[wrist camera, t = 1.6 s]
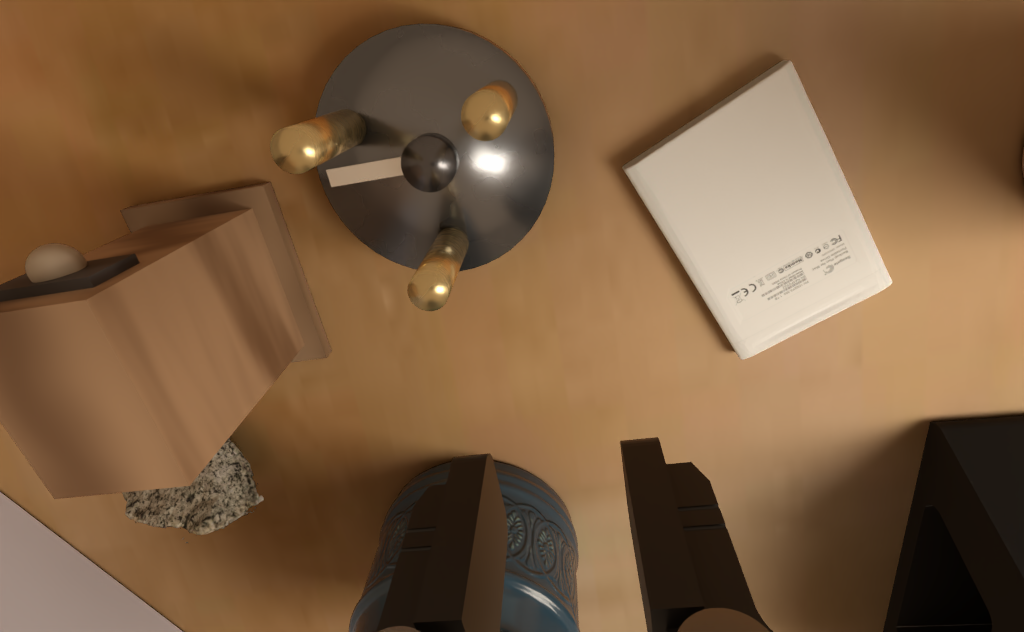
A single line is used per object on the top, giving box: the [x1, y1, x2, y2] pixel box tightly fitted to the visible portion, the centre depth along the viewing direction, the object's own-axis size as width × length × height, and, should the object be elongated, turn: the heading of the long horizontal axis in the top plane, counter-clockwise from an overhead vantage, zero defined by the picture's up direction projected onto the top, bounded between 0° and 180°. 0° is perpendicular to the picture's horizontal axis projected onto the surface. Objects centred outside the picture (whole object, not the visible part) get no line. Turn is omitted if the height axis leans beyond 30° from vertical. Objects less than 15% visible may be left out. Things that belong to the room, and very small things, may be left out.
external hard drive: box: [622, 60, 892, 360], centre depth 27 cm, size 2×8×12 cm
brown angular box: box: [0, 182, 332, 499], centre depth 25 cm, size 8×10×12 cm
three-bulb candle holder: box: [270, 24, 554, 311], centre depth 23 cm, size 11×11×8 cm
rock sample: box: [122, 438, 264, 543], centre depth 34 cm, size 10×8×9 cm
